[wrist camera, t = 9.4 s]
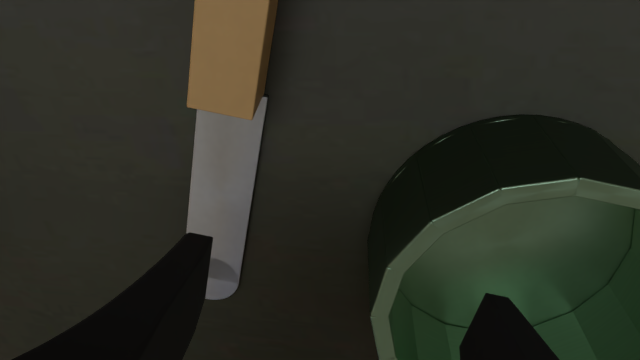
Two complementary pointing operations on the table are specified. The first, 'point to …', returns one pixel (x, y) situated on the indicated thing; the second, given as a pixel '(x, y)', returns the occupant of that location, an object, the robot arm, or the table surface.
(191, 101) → the knife
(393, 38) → the table surface
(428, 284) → the pot
